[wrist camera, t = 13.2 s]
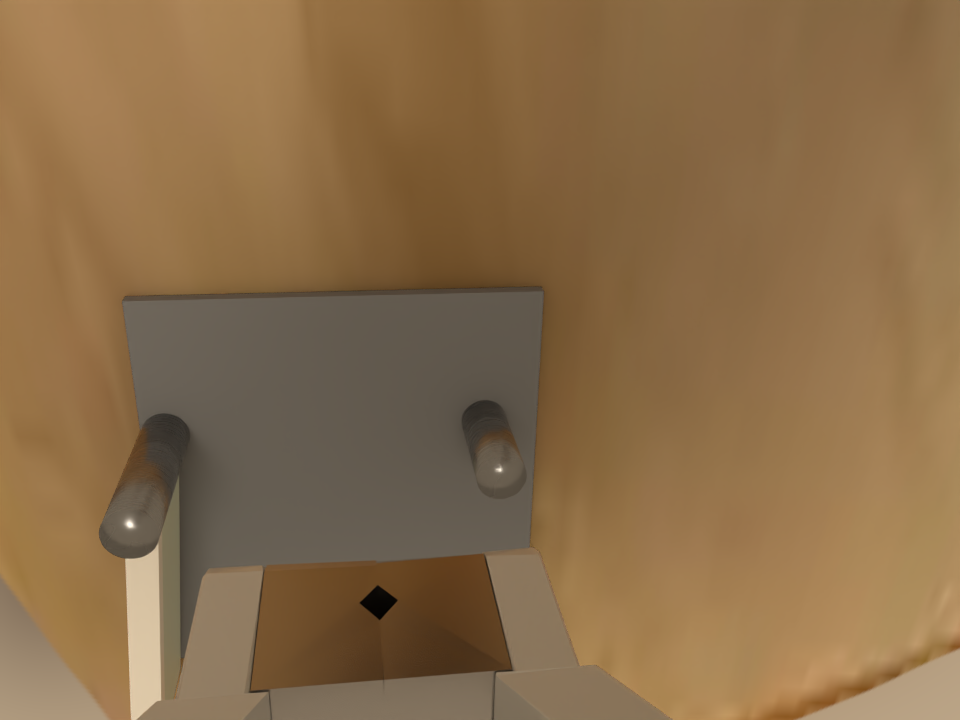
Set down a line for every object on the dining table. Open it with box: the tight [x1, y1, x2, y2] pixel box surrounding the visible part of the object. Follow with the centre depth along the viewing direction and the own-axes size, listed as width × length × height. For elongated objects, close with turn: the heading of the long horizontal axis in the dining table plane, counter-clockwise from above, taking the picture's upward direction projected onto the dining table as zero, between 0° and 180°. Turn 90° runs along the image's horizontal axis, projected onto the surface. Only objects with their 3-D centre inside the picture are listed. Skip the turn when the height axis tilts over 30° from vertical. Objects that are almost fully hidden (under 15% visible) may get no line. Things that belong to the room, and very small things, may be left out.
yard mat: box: [122, 287, 544, 658], centre depth 41 cm, size 17×18×1 cm
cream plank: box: [125, 476, 181, 720], centre depth 38 cm, size 11×1×5 cm, turn 173°
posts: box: [99, 400, 527, 559], centre depth 36 cm, size 16×2×8 cm, turn 89°
